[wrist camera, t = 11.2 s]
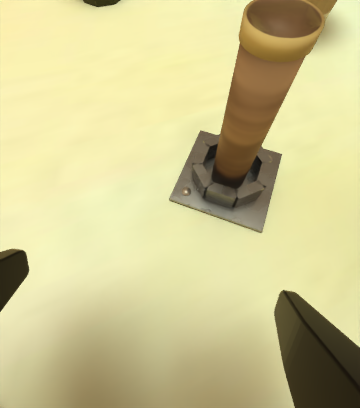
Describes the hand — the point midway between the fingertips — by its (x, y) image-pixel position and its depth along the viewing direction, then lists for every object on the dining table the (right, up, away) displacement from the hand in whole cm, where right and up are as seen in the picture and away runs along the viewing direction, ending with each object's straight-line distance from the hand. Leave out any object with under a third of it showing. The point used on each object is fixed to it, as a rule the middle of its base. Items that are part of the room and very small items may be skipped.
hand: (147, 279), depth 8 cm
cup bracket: (+6, +6, +17) cm, 19 cm away
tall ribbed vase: (+6, +6, +17) cm, 19 cm away
